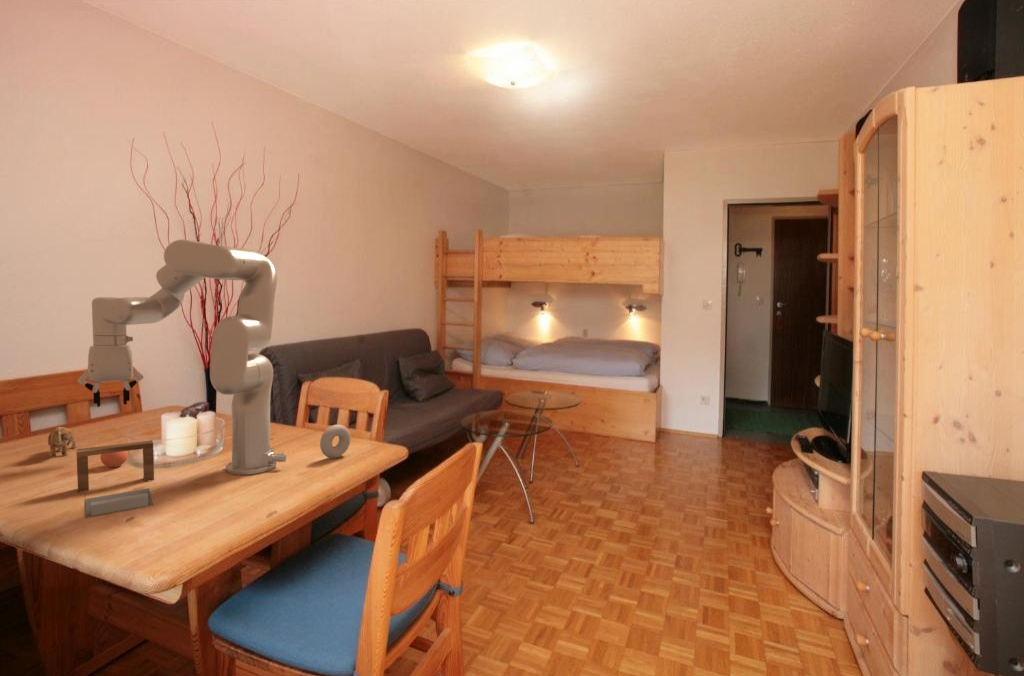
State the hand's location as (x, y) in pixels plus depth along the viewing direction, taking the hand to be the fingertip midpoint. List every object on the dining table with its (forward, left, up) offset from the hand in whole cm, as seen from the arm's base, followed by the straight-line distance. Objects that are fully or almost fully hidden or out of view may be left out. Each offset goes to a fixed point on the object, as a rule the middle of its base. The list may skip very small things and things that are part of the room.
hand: (112, 404), depth 150 cm
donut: (-62, +3, -16) cm, 64 cm away
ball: (-5, +8, -12) cm, 16 cm away
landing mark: (-20, +34, -15) cm, 42 cm away
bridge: (-13, +22, -15) cm, 30 cm away
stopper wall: (-22, +39, -15) cm, 47 cm away
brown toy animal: (+15, -4, -16) cm, 22 cm away
